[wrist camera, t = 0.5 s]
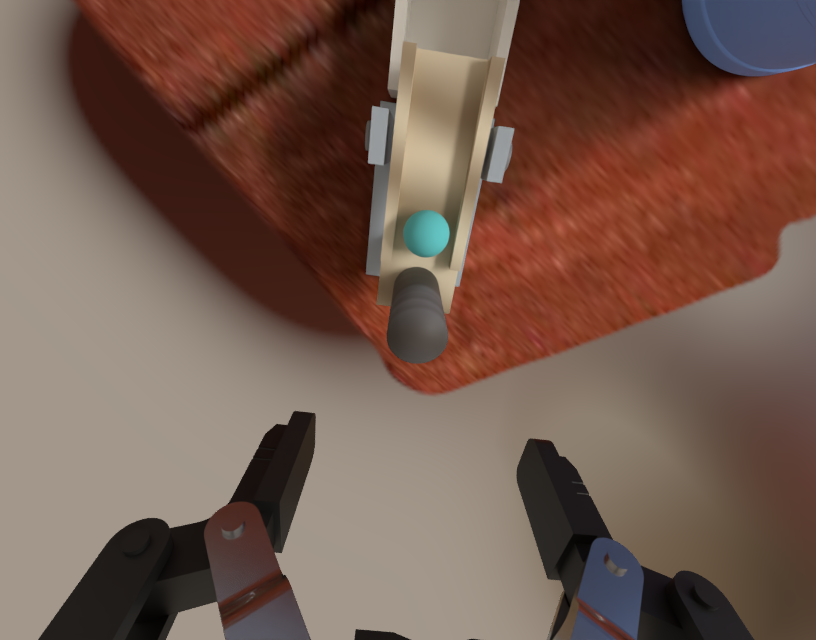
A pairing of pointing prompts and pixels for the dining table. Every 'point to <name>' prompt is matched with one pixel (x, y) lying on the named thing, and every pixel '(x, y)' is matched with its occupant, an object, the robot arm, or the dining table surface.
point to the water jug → (753, 34)
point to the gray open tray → (452, 30)
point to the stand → (380, 155)
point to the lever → (433, 188)
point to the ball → (426, 233)
